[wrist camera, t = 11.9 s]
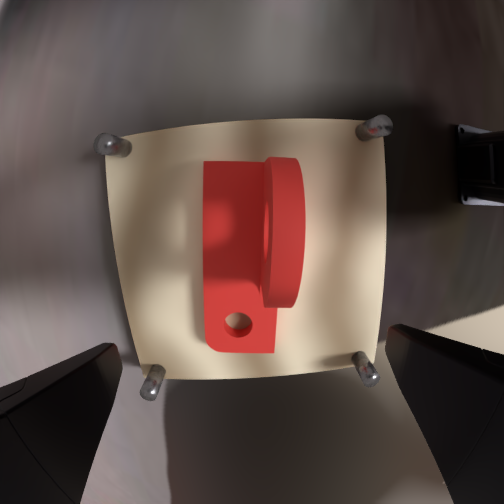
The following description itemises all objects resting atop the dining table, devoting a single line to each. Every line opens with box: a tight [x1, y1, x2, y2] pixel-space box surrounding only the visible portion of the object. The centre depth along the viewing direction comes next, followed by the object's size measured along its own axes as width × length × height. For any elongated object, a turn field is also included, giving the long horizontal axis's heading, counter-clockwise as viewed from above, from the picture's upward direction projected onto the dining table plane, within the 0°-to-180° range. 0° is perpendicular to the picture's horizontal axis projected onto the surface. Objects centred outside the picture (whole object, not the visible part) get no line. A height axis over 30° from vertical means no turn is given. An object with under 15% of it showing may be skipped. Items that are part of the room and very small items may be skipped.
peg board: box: [94, 115, 393, 401], centre depth 18 cm, size 18×18×4 cm
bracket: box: [203, 157, 306, 353], centre depth 15 cm, size 12×4×8 cm, turn 178°
